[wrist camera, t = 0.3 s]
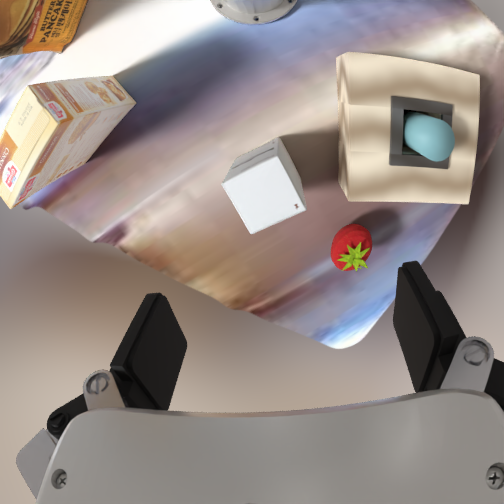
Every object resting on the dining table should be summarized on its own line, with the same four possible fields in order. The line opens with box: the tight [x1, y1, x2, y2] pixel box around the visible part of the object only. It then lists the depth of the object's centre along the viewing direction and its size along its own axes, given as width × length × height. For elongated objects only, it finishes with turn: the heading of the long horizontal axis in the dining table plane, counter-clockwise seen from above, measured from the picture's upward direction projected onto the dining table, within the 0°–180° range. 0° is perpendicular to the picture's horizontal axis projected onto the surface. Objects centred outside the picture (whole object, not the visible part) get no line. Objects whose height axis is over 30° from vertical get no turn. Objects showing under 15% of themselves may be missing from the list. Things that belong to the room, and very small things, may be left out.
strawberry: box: [331, 224, 372, 272], centre depth 44 cm, size 6×8×10 cm
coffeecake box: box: [0, 76, 136, 209], centre depth 33 cm, size 15×7×20 cm, turn 128°
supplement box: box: [222, 137, 307, 234], centre depth 39 cm, size 7×7×13 cm
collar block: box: [336, 52, 480, 204], centre depth 35 cm, size 19×19×9 cm
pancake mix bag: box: [0, 0, 88, 59], centre depth 19 cm, size 7×19×28 cm, turn 157°
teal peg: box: [403, 112, 455, 161], centre depth 31 cm, size 5×5×7 cm
